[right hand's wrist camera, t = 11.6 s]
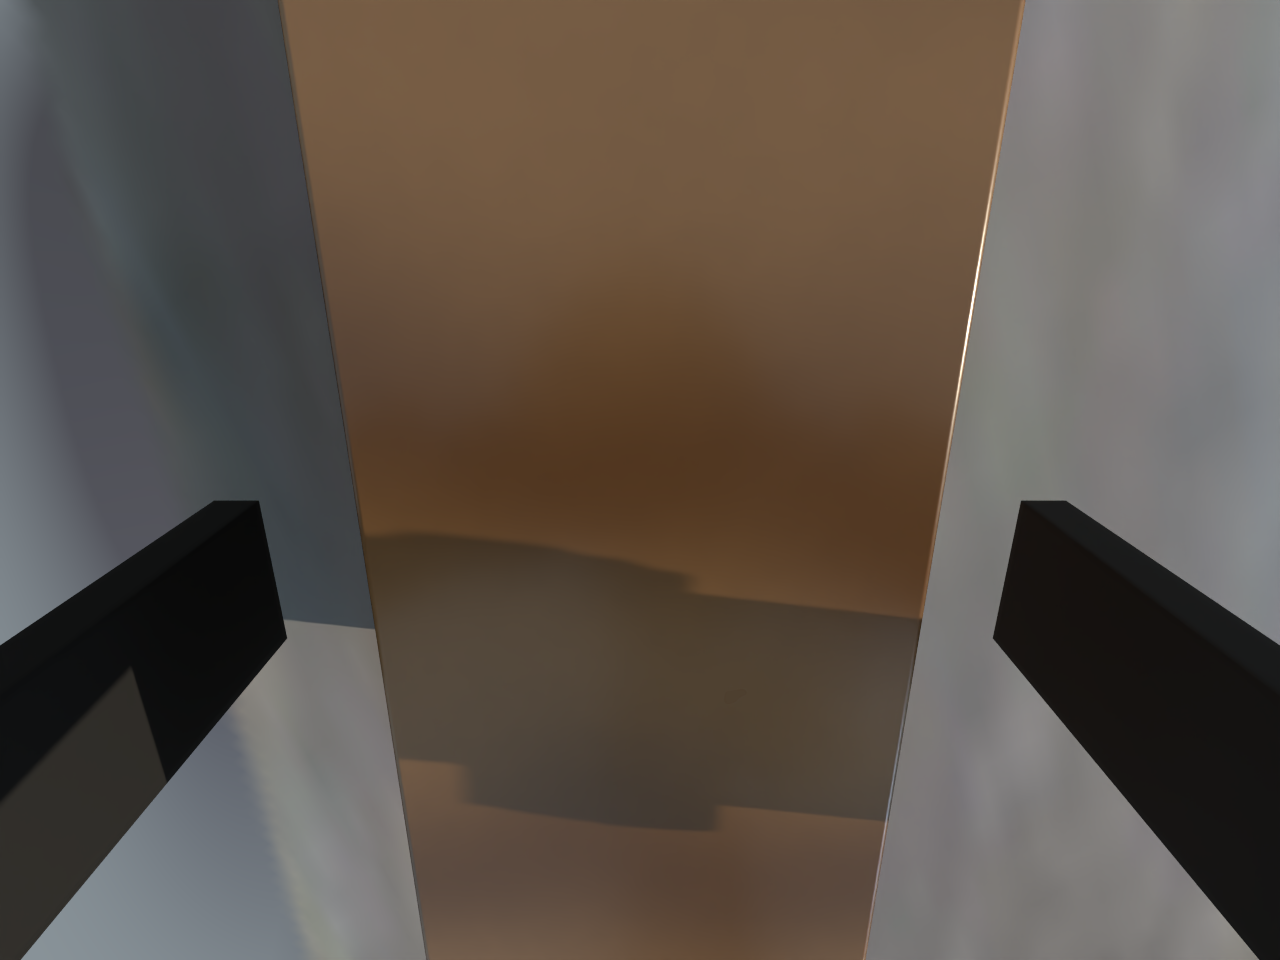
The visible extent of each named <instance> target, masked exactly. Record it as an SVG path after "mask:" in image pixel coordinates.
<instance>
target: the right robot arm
mask: <svg viewBox="0 0 1280 960" xmlns="http://www.w3.org/2000/svg"><path fill="white" fill-rule="evenodd" d="M286 639H287V635H286V631H285V626H284V621H283V616H282V611H281V606H280V601H279V597H278V592H277V587H276V582H275V577H274V572H273V567H272V563H271V558H270V553H269V548H268V543H267V538H266V533H265V529H264V524H263V519H262V514H261V509H260V504H259V501H213V502H212V503H210V504H209V505H207V506H206V507H204V508H203V509H201V510H200V511H198V512H197V513H195V514H194V515H192V516H191V517H189V518H188V519H186V520H185V521H183V522H182V523H180V524H179V525H178V526H176V527H175V528H173V529H172V530H170V531H169V532H167V533H166V534H164V535H163V536H161V537H160V538H158V539H157V540H155V541H154V542H152V543H151V544H149V545H148V546H147V547H145V548H144V549H142V550H141V551H139V552H138V553H136V554H135V555H133V556H132V557H130V558H129V559H127V560H126V561H124V562H123V563H121V564H120V565H118V566H117V567H115V568H114V569H112V570H111V571H110V572H108V573H107V574H105V575H104V576H102V577H101V578H99V579H98V580H96V581H95V582H93V583H92V584H90V585H89V586H87V587H86V588H84V589H83V590H82V591H80V592H79V593H77V594H76V595H74V596H73V597H71V598H70V599H68V600H67V601H65V602H64V603H62V604H61V605H59V606H58V607H56V608H55V609H53V610H52V611H50V612H49V613H48V614H46V615H45V616H43V617H42V618H40V619H39V620H37V621H36V622H34V623H33V624H31V625H30V626H28V627H27V628H25V629H24V630H22V631H21V632H19V633H18V634H17V635H15V636H13V637H12V638H11V639H9V640H8V641H6V642H5V643H3V644H2V645H0V960H21V959H22V957H23V956H24V955H25V954H26V953H27V951H28V950H29V949H30V948H31V947H32V945H33V944H34V943H35V942H36V941H37V939H38V938H39V937H40V936H41V935H42V933H43V932H44V931H45V930H46V929H47V927H48V926H49V925H50V924H51V922H52V921H53V920H54V919H55V918H56V916H57V915H58V914H59V913H60V912H61V910H62V909H63V908H64V907H65V906H66V904H67V903H68V902H69V901H70V900H71V898H72V897H73V896H74V895H75V893H76V892H77V891H78V890H79V889H80V887H81V886H82V885H83V884H84V883H85V881H86V880H87V879H88V878H89V877H90V875H91V874H92V873H93V872H94V871H95V869H96V868H97V867H98V866H99V865H100V863H101V862H102V861H103V860H104V859H105V857H106V856H107V855H108V854H109V853H110V851H111V850H112V849H113V848H114V846H115V845H116V844H117V843H118V842H119V840H120V839H121V838H122V837H123V836H124V834H125V833H126V832H127V831H128V830H129V828H130V827H131V826H132V825H133V824H134V822H135V821H136V820H137V819H138V818H139V816H140V815H141V814H142V813H143V811H144V810H145V809H146V808H147V807H148V805H149V804H150V803H151V802H152V801H153V799H154V798H155V797H156V796H157V795H158V793H159V792H160V791H161V790H162V789H163V787H164V786H165V785H166V784H167V783H168V781H169V780H170V779H171V778H172V776H173V775H174V774H175V773H176V772H177V770H178V769H179V768H180V767H181V766H182V764H183V763H184V762H185V761H186V760H187V758H188V757H189V756H190V755H191V754H192V752H193V751H194V750H195V749H196V748H197V746H198V745H199V744H200V743H201V741H202V740H203V739H204V738H205V737H206V735H207V734H208V733H209V732H210V731H211V729H212V728H213V727H214V726H215V725H216V723H217V722H218V721H219V720H220V719H221V717H222V716H223V715H224V714H225V713H226V711H227V710H228V709H229V708H230V707H231V705H232V704H233V703H234V702H235V701H236V699H237V698H238V697H239V696H240V694H241V693H242V692H243V691H244V690H245V688H246V687H247V686H248V685H249V684H250V682H251V681H252V680H253V679H254V678H255V676H256V675H257V674H258V673H259V672H260V670H261V669H262V668H263V667H264V666H265V664H266V663H267V662H268V661H269V660H270V658H271V657H272V656H273V655H274V653H275V652H276V651H277V650H278V649H279V647H280V646H281V645H282V644H283V643H284V641H285V640H286ZM993 639H994V640H995V641H996V643H997V644H998V645H999V646H1000V647H1001V649H1002V650H1003V651H1004V652H1005V653H1006V655H1007V656H1008V657H1009V658H1010V660H1011V661H1012V662H1013V663H1014V664H1015V666H1016V667H1017V668H1018V669H1019V670H1020V672H1021V673H1022V674H1023V675H1024V676H1025V678H1026V679H1027V680H1028V681H1029V682H1030V684H1031V685H1032V686H1033V687H1034V688H1035V690H1036V691H1037V692H1038V693H1039V694H1040V696H1041V697H1042V698H1043V699H1044V701H1045V702H1046V703H1047V704H1048V705H1049V707H1050V708H1051V709H1052V710H1053V711H1054V713H1055V714H1056V715H1057V716H1058V717H1059V719H1060V720H1061V721H1062V722H1063V723H1064V725H1065V726H1066V727H1067V728H1068V729H1069V731H1070V732H1071V733H1072V734H1073V736H1074V737H1075V738H1076V739H1077V740H1078V742H1079V743H1080V744H1081V745H1082V746H1083V748H1084V749H1085V750H1086V751H1087V752H1088V754H1089V755H1090V756H1091V757H1092V758H1093V760H1094V761H1095V762H1096V763H1097V764H1098V766H1099V767H1100V768H1101V769H1102V770H1103V772H1104V773H1105V774H1106V775H1107V777H1108V778H1109V779H1110V780H1111V781H1112V783H1113V784H1114V785H1115V786H1116V787H1117V789H1118V790H1119V791H1120V792H1121V793H1122V795H1123V796H1124V797H1125V798H1126V799H1127V801H1128V802H1129V803H1130V804H1131V805H1132V807H1133V808H1134V809H1135V810H1136V812H1137V813H1138V814H1139V815H1140V816H1141V818H1142V819H1143V820H1144V821H1145V822H1146V824H1147V825H1148V826H1149V827H1150V828H1151V830H1152V831H1153V832H1154V833H1155V834H1156V836H1157V837H1158V838H1159V839H1160V840H1161V842H1162V843H1163V844H1164V845H1165V846H1166V848H1167V849H1168V850H1169V851H1170V853H1171V854H1172V855H1173V856H1174V857H1175V859H1176V860H1177V861H1178V862H1179V863H1180V865H1181V866H1182V867H1183V868H1184V869H1185V871H1186V872H1187V873H1188V874H1189V875H1190V877H1191V878H1192V879H1193V880H1194V881H1195V883H1196V884H1197V885H1198V886H1199V888H1200V889H1201V890H1202V891H1203V892H1204V894H1205V895H1206V896H1207V897H1208V898H1209V900H1210V901H1211V902H1212V903H1213V904H1214V906H1215V907H1216V908H1217V909H1218V910H1219V912H1220V913H1221V914H1222V915H1223V916H1224V918H1225V919H1226V920H1227V921H1228V922H1229V924H1230V925H1231V926H1232V927H1233V929H1234V930H1235V931H1236V932H1237V933H1238V935H1239V936H1240V937H1241V938H1242V939H1243V941H1244V942H1245V943H1246V944H1247V945H1248V947H1249V948H1250V949H1251V950H1252V951H1253V953H1254V954H1255V955H1256V956H1257V957H1258V959H1259V960H1280V645H1278V644H1277V643H1275V642H1274V641H1272V640H1271V639H1269V638H1268V637H1267V636H1265V635H1264V634H1262V633H1261V632H1259V631H1258V630H1256V629H1255V628H1253V627H1252V626H1250V625H1249V624H1247V623H1246V622H1244V621H1243V620H1241V619H1240V618H1238V617H1237V616H1235V615H1234V614H1233V613H1231V612H1230V611H1228V610H1227V609H1225V608H1224V607H1222V606H1221V605H1219V604H1218V603H1216V602H1215V601H1213V600H1212V599H1210V598H1209V597H1207V596H1206V595H1204V594H1203V593H1202V592H1200V591H1199V590H1197V589H1196V588H1194V587H1193V586H1191V585H1190V584H1188V583H1187V582H1185V581H1184V580H1182V579H1181V578H1179V577H1178V576H1176V575H1175V574H1173V573H1172V572H1170V571H1169V570H1168V569H1166V568H1165V567H1163V566H1162V565H1160V564H1159V563H1157V562H1156V561H1154V560H1153V559H1151V558H1150V557H1148V556H1147V555H1145V554H1144V553H1142V552H1141V551H1139V550H1138V549H1136V548H1135V547H1134V546H1132V545H1131V544H1129V543H1128V542H1126V541H1125V540H1123V539H1122V538H1120V537H1119V536H1117V535H1116V534H1114V533H1113V532H1111V531H1110V530H1108V529H1107V528H1105V527H1104V526H1102V525H1101V524H1100V523H1098V522H1097V521H1095V520H1094V519H1092V518H1091V517H1089V516H1088V515H1086V514H1085V513H1083V512H1082V511H1080V510H1079V509H1077V508H1076V507H1074V506H1073V505H1071V504H1070V503H1068V502H1067V501H1021V504H1020V509H1019V514H1018V519H1017V524H1016V529H1015V533H1014V538H1013V543H1012V548H1011V553H1010V558H1009V563H1008V567H1007V572H1006V577H1005V582H1004V587H1003V592H1002V597H1001V601H1000V606H999V611H998V616H997V621H996V626H995V631H994V635H993Z"/></svg>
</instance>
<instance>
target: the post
mask: <svg viewBox="0 0 1280 960" xmlns="http://www.w3.org/2000/svg"><path fill="white" fill-rule="evenodd" d="M278 5H279V12H280V18H281V24H282V31H283V37H284V44H285V50H286V57H287V63H288V70H289V76H290V83H291V89H292V95H293V102H294V108H295V115H296V121H297V128H298V134H299V141H300V147H301V154H302V160H303V166H304V173H305V179H306V186H307V192H308V199H309V205H310V212H311V218H312V224H313V231H314V237H315V244H316V250H317V257H318V263H319V270H320V276H321V283H322V289H323V295H324V302H325V308H326V315H327V321H328V328H329V334H330V341H331V347H332V354H333V360H334V366H335V373H336V379H337V386H338V392H339V399H340V405H341V412H342V418H343V424H344V431H345V437H346V444H347V450H348V457H349V463H350V470H351V476H352V483H353V489H354V495H355V502H356V508H357V515H358V521H359V528H360V534H361V541H362V547H363V553H364V560H365V566H366V573H367V579H368V586H369V592H370V599H371V605H372V612H373V618H374V624H375V631H376V637H377V644H378V650H379V657H380V663H381V670H382V676H383V683H384V689H385V695H386V702H387V708H388V715H389V721H390V728H391V734H392V741H393V747H394V753H395V760H396V766H397V773H398V779H399V786H400V792H401V799H402V805H403V812H404V818H405V824H406V831H407V837H408V844H409V850H410V857H411V863H412V870H413V876H414V883H415V889H416V895H417V902H418V908H419V915H420V921H421V928H422V934H423V941H424V947H425V953H426V960H865V958H866V952H867V946H868V940H869V934H870V928H871V922H872V916H873V910H874V904H875V898H876V892H877V886H878V880H879V874H880V868H881V862H882V856H883V850H884V844H885V838H886V832H887V826H888V820H889V814H890V808H891V802H892V796H893V790H894V784H895V778H896V772H897V766H898V760H899V754H900V748H901V742H902V736H903V730H904V724H905V719H906V713H907V707H908V701H909V695H910V689H911V683H912V677H913V671H914V665H915V659H916V653H917V647H918V641H919V635H920V629H921V623H922V617H923V611H924V605H925V599H926V593H927V587H928V581H929V575H930V569H931V563H932V557H933V551H934V545H935V539H936V533H937V527H938V521H939V515H940V509H941V503H942V497H943V491H944V485H945V479H946V473H947V467H948V461H949V455H950V449H951V443H952V437H953V431H954V425H955V419H956V413H957V407H958V401H959V395H960V389H961V383H962V377H963V371H964V365H965V359H966V353H967V347H968V341H969V335H970V329H971V323H972V317H973V311H974V305H975V299H976V293H977V287H978V281H979V275H980V269H981V263H982V257H983V251H984V246H985V240H986V234H987V228H988V222H989V216H990V210H991V204H992V198H993V192H994V186H995V180H996V174H997V168H998V162H999V156H1000V150H1001V144H1002V138H1003V132H1004V126H1005V120H1006V114H1007V108H1008V102H1009V96H1010V90H1011V84H1012V78H1013V72H1014V66H1015V60H1016V54H1017V48H1018V42H1019V36H1020V30H1021V24H1022V18H1023V12H1024V6H1025V0H278Z"/></svg>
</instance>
